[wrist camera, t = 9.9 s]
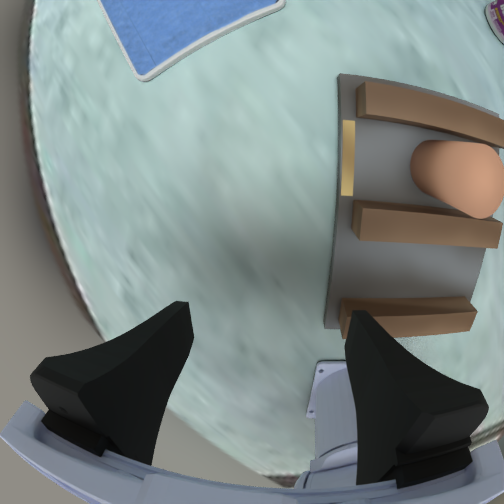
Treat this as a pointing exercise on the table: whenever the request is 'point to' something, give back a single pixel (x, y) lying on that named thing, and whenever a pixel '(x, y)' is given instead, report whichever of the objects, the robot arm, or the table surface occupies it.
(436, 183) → the terracotta plug
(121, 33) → the tablet computer
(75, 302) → the table surface
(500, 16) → the pill bottle
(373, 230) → the comb rack
